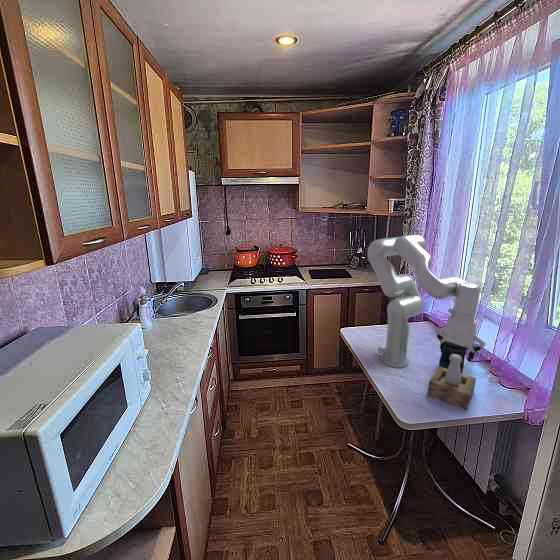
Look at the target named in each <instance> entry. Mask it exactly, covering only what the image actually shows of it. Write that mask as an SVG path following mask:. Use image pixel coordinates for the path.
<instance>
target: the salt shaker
mask: <svg viewBox="0 0 560 560" xmlns="http://www.w3.org/2000/svg"><path fill="white" fill-rule="evenodd" d="M449 359H450V361H451V362H450V365H449V367H448V370H447V373H446V375H445V378H444V379H445V381H446V384H449V385H452V386H455V387H457V386H458V385H459V384H460V383H461V373H460V363H461V362H462V357H461V356H459V355H457V354H452V355H450V358H449Z"/></svg>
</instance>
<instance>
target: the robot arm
mask: <svg viewBox="0 0 560 560" xmlns="http://www.w3.org/2000/svg"><path fill="white" fill-rule="evenodd" d="M426 243H427V242H426V240H425V238H424V236H422V235H420V234H408V235H407V234H406V235H402V236H396V237H387V238H386V237H385V238H379V239H376V240H373V241H372V242H371V243H370V244H369V246H368V248H367V258H368V262H369V263H370V266H371V267H372V268H373V270H374V273H375V276H376V278H377V280H378V283H379V285H380V287H381V290H382V292H383V293H384V295H385V296H386V297H389V298H393V297H394V298H395V297H397V298H396V299H392V300H391V301H390V302H389V303H388V304H387V307H386V310H387V312H386V313H387V333H386V341H385V348H384V347H381V346H378V347H377V353H379V354H382V355H381V356H380V358H381V360H380V361H382V363H384V364H385V365H386V366H389V367H392V368H398V369H401V368H407V367H408V366H409V365H410V359H409V358H408V357H407V353H408V344H409V337H410V323H409V321H408V319H409V318H411V317H415V316H418V315H420V314H422V313H423V311H424V310H425V305H424V300H423V298H422V295H421V293H420V291H419V289H418V286H417V284H418V285H419V286H420V288H421V289H422V290H423V291H424V292H425V293H426V294H428V295H429V296H430V297H431V298H433V299H435V300H442V299H446V298H450V297H451V298H453V297H454V300H453V301H454V302H453V306H452V308H448V310H447V311H448V313H450V315H449V316H448V317H447V320H446V324H445V327H442V328H441V327H440V328H436V329H435V330H434V331H435V335H436V338H437V339H438V340H439V343H440V346H439V350H440V353H442V352H444V350H445V346H446V341H448V342H451V343H454V344H457V345H460V346H464V347H467V348H468V349H469V352H468V357H467V362H468V363H469V362H471V361H472V360H474V357H475V353H476V352H477V351H478V352H479V351H480V350H481V349H483V348H484V347H485V346H486V344H487V343H486V342H485V341H484V340H482V339H481V338H479V337H478V336H477V320H476V319H475V318H476V313H477V309H478V304H479V299H480V294H481V287H480V285H478V284H477V283H474V282H470V281H466V280H464V279H462V278H459V277H457V276H448V277H442V278H437V276H435V275H434V274H433V273H432V272H431V270H430V269H429V265H430V264H431V262H432V260H433V257H432V256H431V254H430V253H428V251H426V250H425V249H426V246H427V244H426ZM392 256H400V258H402V259H403V260H404V262H406V263H407V264H408V266H410V267H411V269H413V270H414V277H415V279H416V282H417V284H416V282H415V280H414V279H413V277H411V276H410V275H408V274H405V273H401V274H398V273H397V272H396V269H395V267H394V265H393V264H392V263H391V262H390V260H388V259H387V258H386V257H392ZM398 296H401V297H398ZM441 333H443V335H442V334H441ZM475 342H476V343H478V344H479V345H477V346H475V345H476V344H474V343H475Z"/></svg>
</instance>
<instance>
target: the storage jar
mask: <svg viewBox="0 0 560 560" xmlns="http://www.w3.org/2000/svg"><path fill="white" fill-rule="evenodd" d="M467 350H468V347H464V346H460V345H457V344H454V343H451V342H448V341H446V346H445V350H444V352H440V353H441V354H440V357H439V362H438V366H440V367H443V368H446V369H448V367H449V365H450V362H451V361H450V359H449V358H450V355H452V354H457V355H459V356H461V357H462V362H461V363H460V373H462V374H464V373H463V371H464V367H465V358H466V355H467Z"/></svg>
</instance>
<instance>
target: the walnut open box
mask: <svg viewBox="0 0 560 560" xmlns="http://www.w3.org/2000/svg"><path fill="white" fill-rule="evenodd" d="M447 370H448V369H446V368H443V367H440V366H439V365H438V366H437V368H436V370H435V372H434V373H433V374H432V375H431V378H430V379H429V381H428V387H427V394H426V395H427V396H428V397H430V398H432V399H436V400H438V401H440V402H444V403H445V404H450V405H452V406H453V407H457V408H459V409H461V410H465V411H467V409H468V407H469V405H470V402H471V399H472V397H473V395H474V392H475V386H476V380H477V377H474V376H471V375H468V374H466V373H461V383H460V384H459V385H458V386H457V387H455V386H452V385H449V384H446V381H445V379H444V378H445V375H446V373H447Z"/></svg>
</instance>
